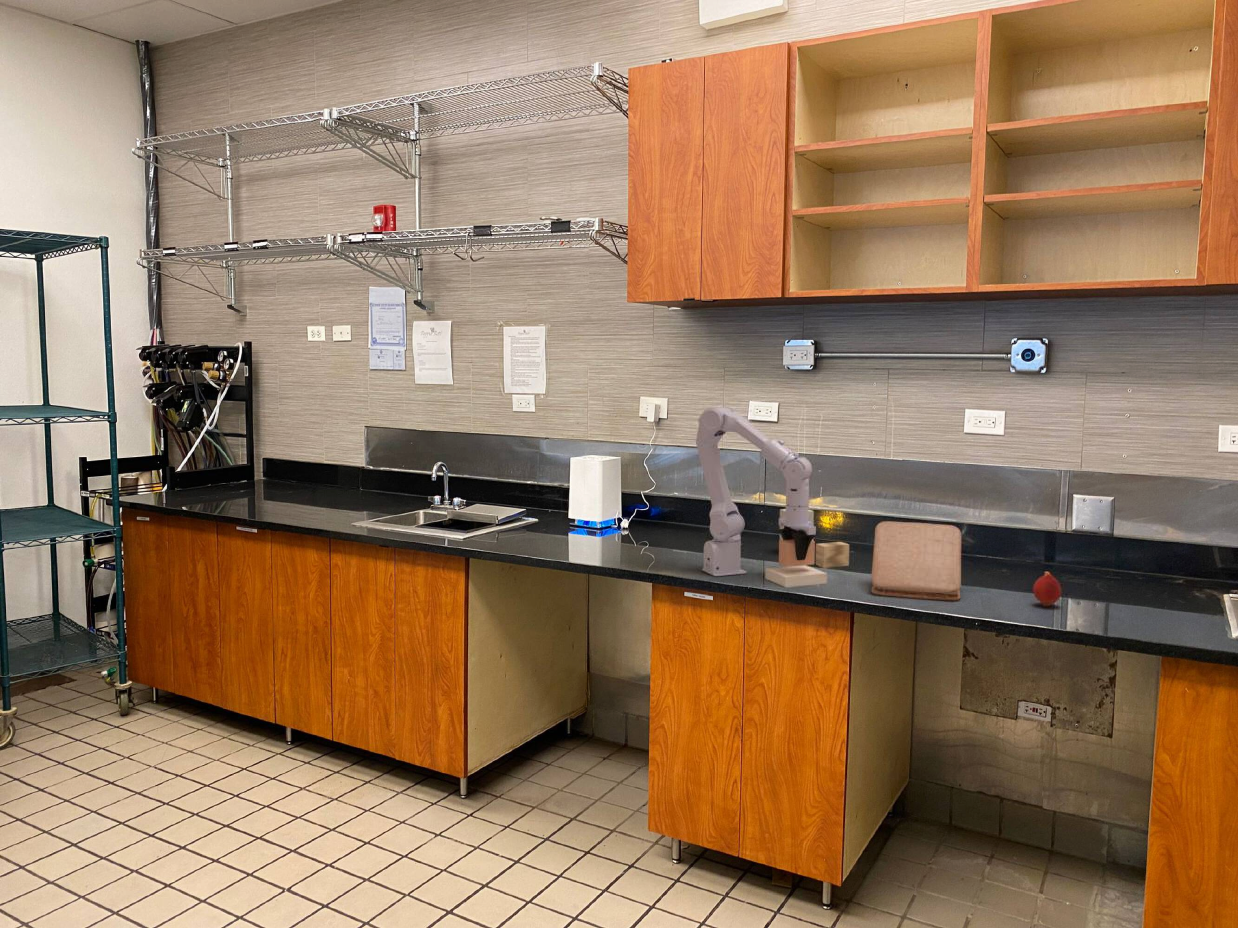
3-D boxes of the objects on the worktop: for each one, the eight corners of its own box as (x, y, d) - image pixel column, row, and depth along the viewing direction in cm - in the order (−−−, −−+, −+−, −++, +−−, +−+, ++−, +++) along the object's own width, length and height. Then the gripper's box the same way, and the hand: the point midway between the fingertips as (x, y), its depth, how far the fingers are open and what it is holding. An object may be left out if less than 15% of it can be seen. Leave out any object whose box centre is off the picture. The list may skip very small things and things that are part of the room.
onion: (1052, 602, 206) (1054, 568, 206) (1065, 609, 201) (1067, 574, 200) (1027, 602, 206) (1029, 569, 205) (1040, 609, 201) (1042, 574, 200)
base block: (785, 588, 222) (785, 577, 222) (765, 580, 231) (765, 568, 231) (826, 584, 226) (827, 573, 226) (805, 576, 235) (805, 565, 235)
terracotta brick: (787, 566, 225) (787, 543, 224) (778, 563, 229) (779, 540, 228) (814, 564, 228) (814, 541, 227) (805, 561, 232) (806, 538, 231)
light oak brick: (823, 568, 243) (824, 546, 243) (815, 565, 247) (816, 543, 246) (848, 565, 246) (849, 544, 245) (840, 562, 250) (840, 541, 249)
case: (869, 596, 214) (871, 530, 212) (875, 576, 233) (877, 516, 231) (960, 604, 207) (963, 536, 205) (959, 583, 226) (962, 521, 225)
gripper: (826, 508, 221) (825, 562, 223) (795, 500, 235) (794, 551, 236) (802, 510, 219) (801, 564, 220) (772, 502, 232) (771, 553, 234)
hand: (796, 557), depth 228 cm, fingers closed on terracotta brick, 4 cm apart
